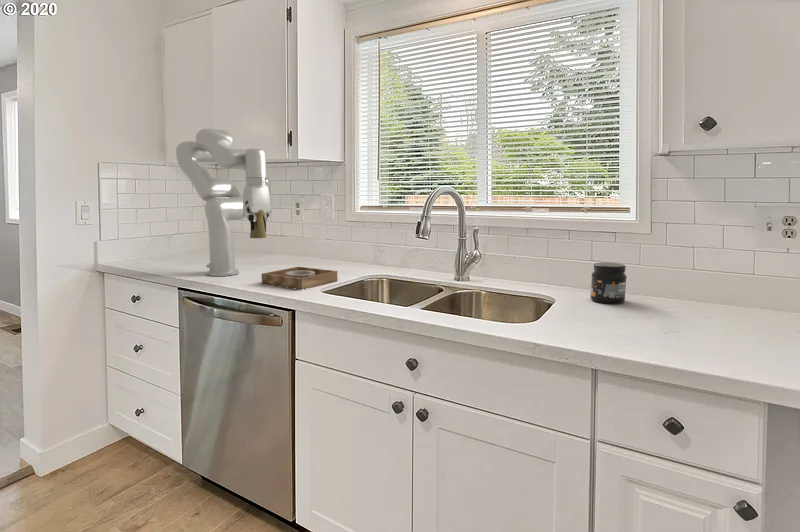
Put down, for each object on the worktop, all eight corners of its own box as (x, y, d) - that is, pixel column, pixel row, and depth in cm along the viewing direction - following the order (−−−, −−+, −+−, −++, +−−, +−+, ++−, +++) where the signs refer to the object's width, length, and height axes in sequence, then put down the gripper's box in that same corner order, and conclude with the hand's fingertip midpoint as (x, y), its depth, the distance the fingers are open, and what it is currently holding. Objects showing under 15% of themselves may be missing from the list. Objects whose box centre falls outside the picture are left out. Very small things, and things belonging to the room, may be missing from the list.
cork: (256, 236, 201) (255, 207, 199) (269, 237, 199) (268, 208, 197) (246, 237, 195) (245, 208, 194) (259, 238, 193) (258, 208, 191)
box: (261, 284, 195) (261, 273, 194) (298, 276, 211) (298, 266, 211) (302, 290, 184) (301, 278, 184) (337, 281, 201) (337, 271, 200)
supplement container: (590, 296, 175) (592, 261, 173) (624, 299, 171) (627, 263, 169) (589, 303, 165) (591, 265, 164) (625, 306, 162) (628, 267, 160)
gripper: (265, 182, 203) (268, 229, 206) (231, 182, 189) (234, 233, 192) (279, 182, 199) (281, 230, 202) (245, 182, 185) (248, 234, 188)
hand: (258, 231), depth 197 cm, fingers closed on cork, 3 cm apart
